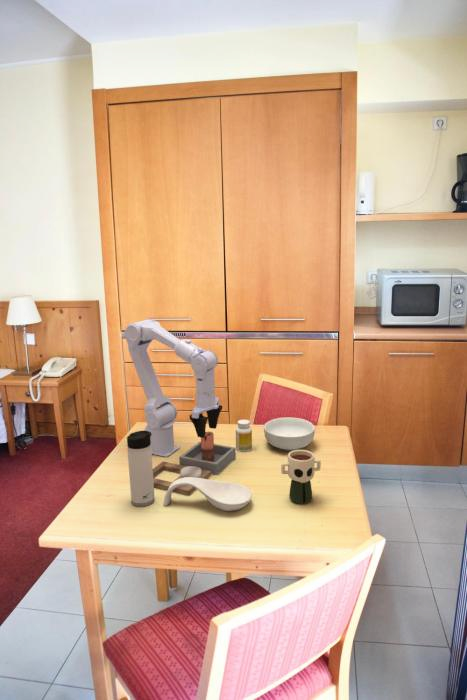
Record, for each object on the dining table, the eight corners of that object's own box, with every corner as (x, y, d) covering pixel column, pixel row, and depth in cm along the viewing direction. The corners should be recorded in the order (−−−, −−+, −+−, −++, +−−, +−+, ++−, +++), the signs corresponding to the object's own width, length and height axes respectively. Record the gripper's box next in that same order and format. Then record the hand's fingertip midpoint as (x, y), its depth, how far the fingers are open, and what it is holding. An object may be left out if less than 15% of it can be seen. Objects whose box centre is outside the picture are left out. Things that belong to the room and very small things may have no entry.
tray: (179, 467, 167) (179, 457, 166) (200, 451, 178) (199, 441, 177) (217, 475, 161) (216, 464, 160) (235, 457, 172) (235, 447, 171)
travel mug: (151, 508, 143) (146, 438, 139) (127, 505, 145) (122, 436, 140) (158, 496, 149) (154, 429, 145) (136, 494, 151) (131, 427, 146)
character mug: (284, 508, 142) (284, 462, 139) (278, 494, 149) (277, 451, 146) (324, 503, 144) (325, 458, 141) (315, 490, 150) (316, 447, 147)
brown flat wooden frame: (138, 484, 157) (137, 471, 156) (163, 465, 168) (162, 453, 167) (189, 495, 149) (188, 482, 148) (211, 475, 161) (210, 463, 160)
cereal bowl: (253, 445, 181) (253, 426, 180) (286, 432, 192) (286, 413, 190) (291, 461, 169) (291, 440, 167) (324, 445, 180) (325, 426, 178)
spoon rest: (253, 495, 149) (253, 471, 148) (250, 518, 138) (249, 492, 136) (170, 492, 152) (168, 469, 150) (160, 515, 141) (158, 490, 139)
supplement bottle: (232, 448, 179) (232, 421, 177) (244, 444, 183) (244, 417, 180) (243, 453, 175) (242, 425, 173) (255, 448, 179) (255, 421, 176)
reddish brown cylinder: (199, 462, 168) (198, 435, 166) (205, 457, 172) (204, 431, 170) (211, 464, 167) (210, 437, 165) (216, 459, 170) (215, 432, 168)
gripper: (205, 399, 156) (207, 443, 159) (227, 385, 168) (228, 426, 172) (184, 396, 159) (186, 439, 162) (208, 383, 171) (209, 422, 175)
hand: (207, 432), depth 167 cm, fingers open, 7 cm apart
